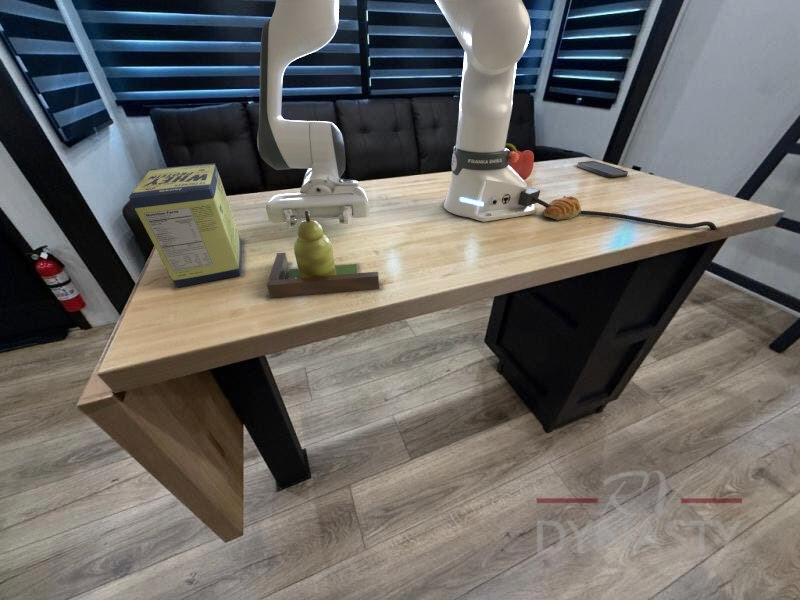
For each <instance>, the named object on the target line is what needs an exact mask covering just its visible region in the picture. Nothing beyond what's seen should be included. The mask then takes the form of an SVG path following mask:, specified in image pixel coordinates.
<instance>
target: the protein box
mask: <svg viewBox="0 0 800 600" xmlns="http://www.w3.org/2000/svg"><path fill="white" fill-rule="evenodd" d="M128 199H129V200H130V202H131V205H132V206H133V208H134V210H135V212H136V214H137V216H138V218H139V220H140V221H141V223H142V225H143V228H144V229H145V231H146V233H147V235H148V237H149V238H150V241H151V242H152V244H153V246H154V248H155V250H156V252H157V254H158V256H159V257H160V260H161V262H162V263H163V265H164V267H165V269H166V270H167V273H168V275H169V276H170V278H171V280H172V282H173V284H174V286H175V288H182V287H187V286H192V285H198V284H202V283H207V282H213V281H218V280H224V279H229V278H235V277H240V276H242V239H241V236H240V232H239V230H238V227H237V223H236V221H235V218H234V215H233V214H234V213H233V212H232V209H231V206H230V203H229V199H228V197H227V194H226V191H225V188H224V185H223V182H222V179H221V176H220V174H219V171H218V168H217V165H216V163H215V162H214V163H204V164H191V165H184V166H183V165H182V166H171V167H158V168H157V167H156V168H149V170H148V172H147V173H146V175H145V176H144V177H143V178H142V180H141V181H140V182H139V183H138V185H137V186H136V187H135V188H134V190H133V191H132V192H131V193H130V195H129V196H128Z"/></svg>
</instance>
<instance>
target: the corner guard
mask: <svg viewBox="0 0 800 600" xmlns="http://www.w3.org/2000/svg"><path fill="white" fill-rule="evenodd" d="M288 267H289V261H288V258H287V253H286V252H277V253H276V255H275V259H274V261H273V265H272V268H271V270H270V275H269V277H268V281H267V283H266V287H267V291H268V294H269V298H270V299H275V298H277V299H278V298H288V297H289V298H290V297H300V296H310V295H311V296H312V295H323V294H334V293H347V292H357V291H368V290H379V289H380V276H379V272H378V271H367V272H357V273H353V274H341V275H329V276H316V277H304V278H292V279H287V278H286V276H287V270H288Z"/></svg>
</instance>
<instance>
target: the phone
mask: <svg viewBox="0 0 800 600" xmlns="http://www.w3.org/2000/svg"><path fill="white" fill-rule="evenodd" d="M576 167H578V168H581V169H583V170H586V171H589V172H592V173H595V174H597V175H600V176H603V177H606V178H611V179H612V178H622V177H627V176H628V175H629V171H627V170H624V169H622V168H618V167H615V166H612V165H609V164H606V163H603V162H600V161H596V160H588V161H587V160H586V161H579V162H577V164H576Z"/></svg>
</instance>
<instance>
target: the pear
mask: <svg viewBox="0 0 800 600" xmlns="http://www.w3.org/2000/svg"><path fill="white" fill-rule="evenodd" d="M305 216H306V220H305V221H301V222H300V224H298V226H297V238H296V239H295V242H294V246H293V252H294V257H295V262H296V267H297V269H298V270H299V275H300V278H304V277H316V276H329V275H336V268H335V266H336V263H335V254H334V247H333V244H332V242H331V241H332V240H330V238H329V237H328V236H327V235H326V234H325V233H324V229H323V226H322V225H321V224H320V222H318V221H314V220H310V216H309V212H308V211H305Z"/></svg>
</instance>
